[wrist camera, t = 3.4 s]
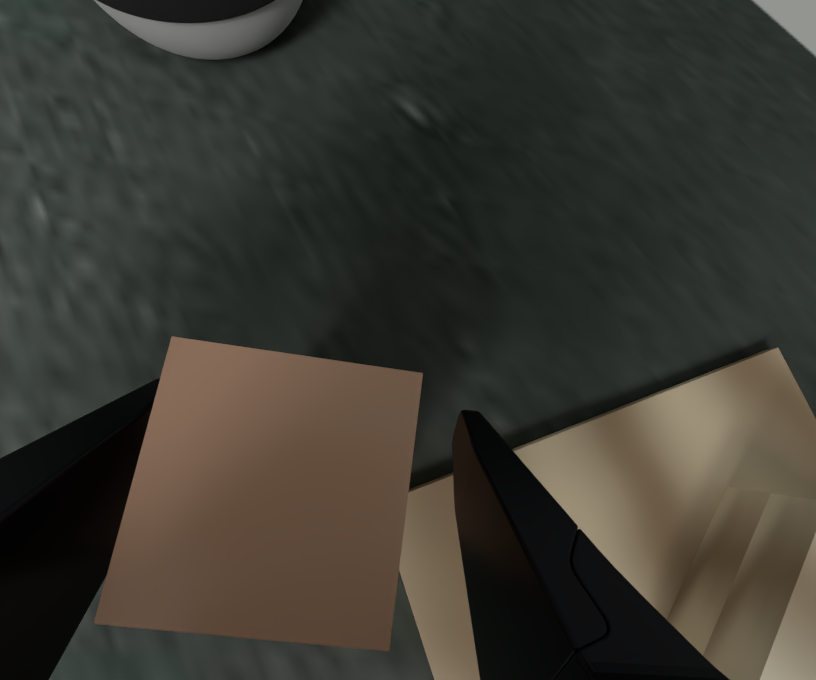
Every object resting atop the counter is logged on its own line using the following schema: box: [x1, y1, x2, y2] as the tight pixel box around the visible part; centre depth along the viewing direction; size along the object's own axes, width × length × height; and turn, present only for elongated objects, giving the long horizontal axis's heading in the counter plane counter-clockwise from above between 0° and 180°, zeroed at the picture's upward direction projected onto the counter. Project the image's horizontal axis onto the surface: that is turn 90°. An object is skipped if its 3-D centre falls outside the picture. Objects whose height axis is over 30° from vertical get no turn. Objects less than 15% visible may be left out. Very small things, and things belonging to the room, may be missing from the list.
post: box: [94, 337, 423, 651], centre depth 11 cm, size 4×4×10 cm
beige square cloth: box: [399, 348, 816, 680], centre depth 15 cm, size 18×18×1 cm
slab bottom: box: [667, 487, 771, 655], centre depth 14 cm, size 7×7×2 cm
